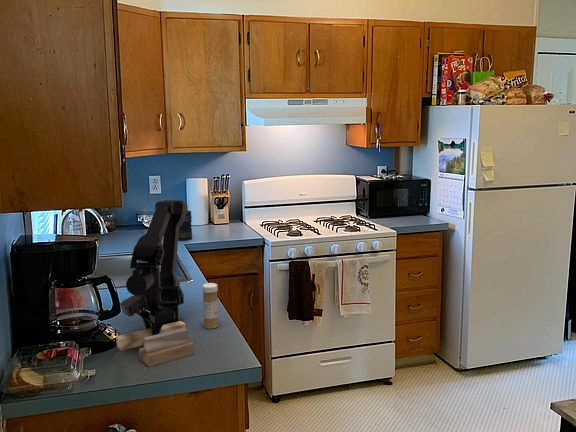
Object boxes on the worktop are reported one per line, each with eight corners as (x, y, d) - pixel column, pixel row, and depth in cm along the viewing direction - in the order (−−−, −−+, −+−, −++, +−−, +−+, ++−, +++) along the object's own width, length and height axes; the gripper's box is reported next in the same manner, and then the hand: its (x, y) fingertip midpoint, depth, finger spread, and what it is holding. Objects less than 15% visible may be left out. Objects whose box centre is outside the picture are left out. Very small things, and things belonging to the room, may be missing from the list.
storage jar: (195, 239, 302) (194, 212, 299) (177, 242, 297) (176, 213, 294) (188, 236, 310) (187, 209, 308) (170, 238, 305) (169, 211, 302)
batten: (121, 351, 157) (120, 339, 156) (117, 348, 159) (116, 336, 158) (185, 334, 169) (185, 323, 168) (181, 331, 171) (180, 320, 171)
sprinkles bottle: (212, 322, 178) (211, 281, 176) (221, 326, 175) (220, 284, 173) (200, 326, 175) (199, 284, 173) (209, 330, 172) (208, 287, 169)
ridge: (139, 359, 151) (138, 336, 150) (183, 347, 159) (182, 325, 158) (149, 366, 146) (148, 343, 145) (193, 354, 154) (192, 331, 153)
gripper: (109, 282, 163) (112, 334, 166) (137, 298, 149) (139, 354, 152) (146, 276, 170) (148, 325, 173) (175, 290, 156) (177, 344, 158)
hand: (152, 336), depth 164 cm, fingers closed on batten, 3 cm apart
